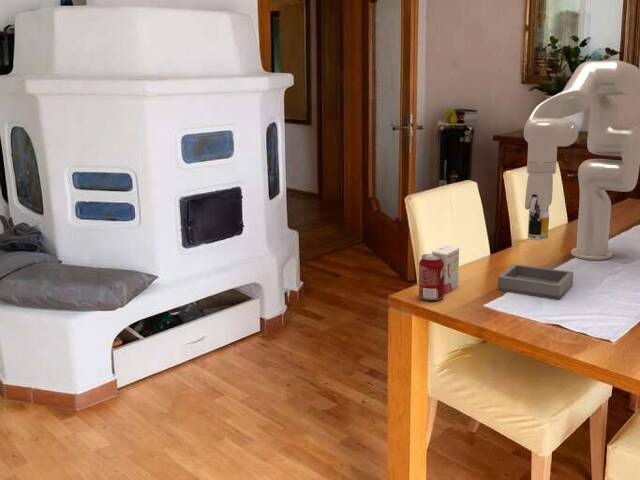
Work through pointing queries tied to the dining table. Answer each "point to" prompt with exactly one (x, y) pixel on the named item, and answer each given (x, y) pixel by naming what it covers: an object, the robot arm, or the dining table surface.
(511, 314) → the dining table surface
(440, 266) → the soda can
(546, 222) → the pill bottle
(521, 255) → the dining table surface
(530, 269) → the tray
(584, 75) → the robot arm
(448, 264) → the ink box
